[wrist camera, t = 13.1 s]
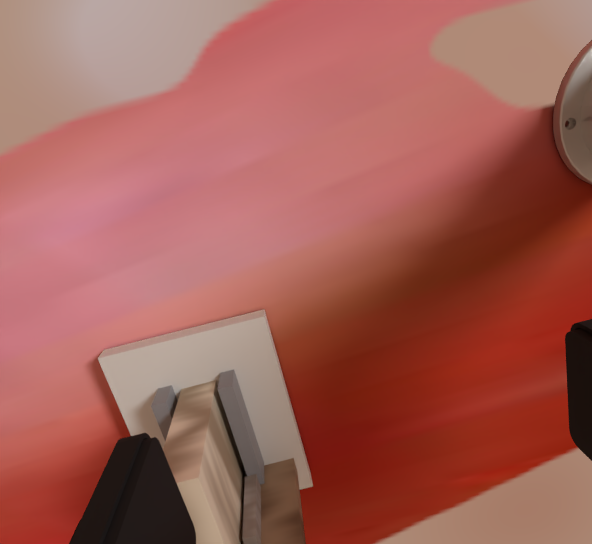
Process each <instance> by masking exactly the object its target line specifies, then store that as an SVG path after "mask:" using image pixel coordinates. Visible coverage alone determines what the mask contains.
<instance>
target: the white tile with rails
mask: <svg viewBox="0 0 592 544" xmlns="http://www.w3.org/2000/svg"><path fill="white" fill-rule="evenodd" d="M98 361H99V363H100V365H101V368H102V370H103V372H104V375H105V377H106V379H107V382H108V384H109V386H110V388H111V391H112V393H113V395H114V398H115V400H116V402H117V405H118V407H119V409H120V412H121V414H122V416H123V418H124V421H125V423H126V425H127V428H128V430H129V432H130V435H131V436H134V435H138V434H142V433H147V434H148V435H149V436H150V438H153V437H156V438H157V439H158V440H159V442H160V444H161V447H162V449H163V448H164V444H165V441H166V438H167V435H168V431H169V428H170V425H171V422H172V418H173V415H174V412H175V409H176V405H177V402H178V399H179V395H180V392H181V389H184V388H188V387H192V386H195V385H199V384H203V383H207V382H211V381H215V380H216V382H217V385H218V392H219V395H220V398H221V401H222V404H223V407H224V410H225V413H226V416H227V419H228V421H229V424H230V427H231V430H232V433H233V436H234V439H235V442H236V445H237V448H238V451H239V454H240V457H241V459H242V462H243V465H244V470H245V471H246V474H247V476H250V475H254V474H257V477H258V480H259V483H260V485H261V484H264V465H268V464H272V463H276V462H280V461H284V460H288V459H292V458H294V461H295V465H296V468H297V472H298V481H299V490H301V489H305V488H309V487H313V483H312V477H311V472H310V469H309V465H308V462H307V458H306V454H305V451H304V447H303V444H302V440H301V437H300V433H299V430H298V426H297V423H296V419H295V416H294V412H293V409H292V405H291V402H290V398H289V395H288V391H287V387H286V384H285V380H284V377H283V373H282V370H281V366H280V363H279V359H278V356H277V352H276V349H275V345H274V342H273V338H272V335H271V331H270V328H269V324H268V320H267V317H266V313H265V310H264V309H263V310H259V311H256V312H252V313H248V314H244V315H240V316H236V317H232V318H228V319H224V320H220V321H216V322H212V323H208V324H204V325H200V326H196V327H192V328H188V329H184V330H180V331H177V332H173V333H169V334H165V335H161V336H157V337H153V338H149V339H145V340H141V341H137V342H133V343H129V344H125V345H121V346H117V347H113V348H109V349H105V350H103V352H102V353H101V354H100V356H99V357H98Z"/></svg>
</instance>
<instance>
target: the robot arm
mask: <svg viewBox="0 0 592 544" xmlns="http://www.w3.org/2000/svg"><path fill="white" fill-rule="evenodd" d="M553 132H554V137H555V143H556V146H557V149H558V151H559V154H560V156H561V158H562V160H563V161H564V163H565V164H566V166H567V167H568V168H569V170H570V171H572V172H573V173H574V174H575V175H576V176H577V177H578V178H580V179H582V180H583V181H585V182H587V183H589V184H592V40H591V41H590V42H589V44H587V46H585V47H584V48H583V49H582V50H581V52H580V53H579V54H578V55H577V57H576V58H575V59H574V61H573V62H572V63H571V65H570V67H569V68H568V71H567V72H566V74H565V76H564V78H563V80H562V82H561V85H560V88H559V91H558V94H557V96H556V101H555V107H554V113H553ZM565 344H566V366H567V387H568V409H569V429H570V434H571V437H572V439H573V441H574V443H575V444H576V445H577V447H578V448H579V449H580V450H581V451H582V452H583V453H584V454H585V455H586V456H587V457H589V459H591V460H592V319H590V320H586V321H582V322H578V323H575V324H574V325H572V327H571V331H570V332H568V333H567V334H566V337H565ZM69 544H196V532H195V528H194V525H193V522H192V520H191V517H190V515H189V512H188V510H187V508H186V505H185V503H184V500H183V498H182V495H181V493H180V490H179V488H178V486H177V483H176V481H175V478H174V476H173V473H172V471H171V468H170V466H169V464H168V461H167V459H166V456H165V454H164V451H163V449H162V447H161V444H160V442H159V440H158V439H157V438H156V437H153V438H150V436H149V435H148V434H147V433H142V434H138V435H134V436H130V437H126V438H122V439H120V440H118V442H117V443H116V446H115V448H114V450H113V452H112V454H111V456H110V458H109V461H108V463H107V465H106V467H105V469H104V471H103V474H102V476H101V478H100V480H99V482H98V484H97V487H96V489H95V491H94V493H93V495H92V497H91V499H90V502H89V504H88V506H87V508H86V510H85V512H84V515H83V517H82V519H81V520H80V522H79V524H78V526H77V528H76V530H75V532H74V534H73V536H72V539H71V541H70V543H69Z"/></svg>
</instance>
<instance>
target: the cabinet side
mask: <svg viewBox="0 0 592 544" xmlns="http://www.w3.org/2000/svg"><path fill="white" fill-rule="evenodd" d="M241 544H306V542H305V534H304V525H303V516H302V507H301V499H300V490H299V481H298V472H297V468H296V465H295V461H294V458H292V459H288V460H284V461H280V462H276V463H272V464H268V465H264V484H261V485H260V483H259V480H258V477H257V474H254V475H250V476H247V474H246V471H245V470H244V486H243V508H242V530H241Z"/></svg>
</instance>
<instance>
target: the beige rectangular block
mask: <svg viewBox="0 0 592 544" xmlns="http://www.w3.org/2000/svg"><path fill="white" fill-rule="evenodd" d="M163 451H164V454H165V456H166V459H167V461H168V464H169V466H170V468H171V471H172V473H173V476H174V478H175V481H176V483H177V486H178V488H179V490H180V493H181V495H182V498H183V500H184V503H185V505H186V508H187V510H188V512H189V515H190V517H191V520H192V522H193V525H194V528H195V532H196V544H241V530H242V508H243V486H244V465H243V462H242V459H241V457H240V454H239V451H238V448H237V445H236V442H235V439H234V436H233V433H232V430H231V427H230V424H229V421H228V419H227V416H226V413H225V410H224V407H223V404H222V401H221V398H220V395H219V392H218V385H217V382H216V380H215V381H211V382H207V383H203V384H199V385H195V386H192V387H188V388H184V389H181V392H180V395H179V399H178V402H177V405H176V409H175V412H174V415H173V418H172V422H171V425H170V428H169V431H168V435H167V438H166V441H165V444H164V448H163Z"/></svg>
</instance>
